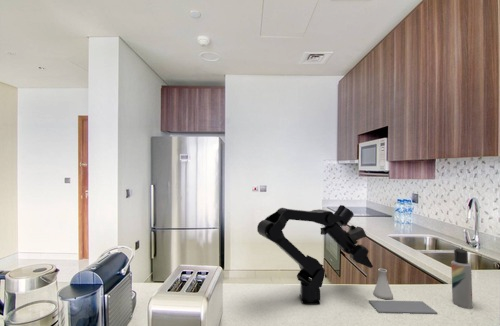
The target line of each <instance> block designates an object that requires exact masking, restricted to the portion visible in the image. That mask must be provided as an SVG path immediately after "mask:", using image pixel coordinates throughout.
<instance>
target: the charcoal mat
mask: <svg viewBox="0 0 500 326" xmlns="http://www.w3.org/2000/svg"><path fill="white" fill-rule="evenodd" d="M368 301H369V302H370V303H369V302H368V303H369V304H370V305H371V306H372V307H373V309H374V310H375V309H376V310H375V311H376V312H377V313H378V314H403V313H410V314H411V315H414V314H416V315H420V314H421V315H438V312H437V311H436V310H434V309H433V308H432V307H431V306H429V305H428V304H427V303H425V302H424V301H423V300H422V301H421V300H420V301H419V300H379V299H378V300H374V299H373V300H372V299H371V300H368ZM410 314H409V315H410Z"/></svg>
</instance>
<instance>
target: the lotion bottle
mask: <svg viewBox="0 0 500 326" xmlns="http://www.w3.org/2000/svg"><path fill="white" fill-rule="evenodd" d="M453 256H454V257H453V260H452V261H450V262H451V263H450V264H451V293H452V294H451V295H452V296H451V297H452V303H453V304H454V305H455V306H458V307H461V308H464V309H472V308H473V280H472V279H473V278H472V276H473V275H472V273H473V272H472V265H471V263H469V259H468V256H469V255H468V250H465V249H462V248H455V249H453Z"/></svg>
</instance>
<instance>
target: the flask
mask: <svg viewBox="0 0 500 326" xmlns="http://www.w3.org/2000/svg"><path fill="white" fill-rule="evenodd" d="M377 271H378V277H377V278H378V279H377V282H376V285H375V287H374V289H373V292H372V294H373V295H374V296H375V297H376V298H378V299H382V298H383V299H384V300H393V299H394V295H393V292H392V290H391V287H390V284H389V281H388V277H387V272H388V270H387V269H385V268H378V270H377Z"/></svg>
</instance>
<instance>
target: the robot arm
mask: <svg viewBox="0 0 500 326" xmlns="http://www.w3.org/2000/svg"><path fill="white" fill-rule="evenodd" d="M354 215H355V214H354V213H353V211H352V210H351V209H349V208H348V207H346V206H345V205H342V204H340V205H339V206H338V207H337V209H336V211H335V212H334V213H333V211H331V210H324V209H321V208H320V209H319V208H318V209H312V210H302V209H301V210H300V209H292V208H285V207H280V208H278V209H277V210H276V211H275V212H274V213H272V214H270V215H268V216H266V218H265V219H262V220H260V222H259V223H258V225H257V228H256V229H257V230H256V231H257V233H258V234H259V235H260V236H262V237H263V238H266V239H267V240H269V241H270V242H272V243H274V244H276V246H277V247H279V248H280V249H281V251H283V252H284V253H285V254H286V255H288V256H289V258H291V259H292V260H293V261H294V262H295V263H296V264H297V265H298V267H299V269H300V270H299V271H298V273H297V275H296V277H297V281H300V294H299V299H300V301H301V303H302V305H321V302H320V301H321V289H320V288H321V287H322V285H323V282H324V278H325V275H326V273H325V272H326V270H325V268H324V264H323V263H322V264H321V263H320V261H319V260H318V259H316V258H315V257H313V256H310V255H309V254H306V255H305V254H304V253H303V252H302V251H301V250H300V249H298V248H297V247H296V245H294V244H293V243H292V242H291V241H290V240H289V239H288V238H287V237H285V234H284V232H283V230H284V229H285V227H286V225H287V223H288V221H291V220H292V221H303V222H312V223H316V224H319V225H322V226H324V227H319V228H320V236H322V235H325V236H326V235H328V236H330V238H331V239H332V240H333V241H334V242H335V243H336V244H337V247H338V248H339V249H340V250H341V251H343V252H344V253H346V254H348V255H349V257H350V258H351V259H352V260H353V261H354V262H355V263H357V264H360V265H363V266H364V267H368V268H370V269H373V267H374V265H373V263H372V262H371V260H370V258H369V257H368V253H369V249H367V247H365V246H364V245H363V244H358V240H361V239H363V238H366V237H367V233H366V231H365V230H364V228H363V227H361V226H356V225H355V226H354V225H353V224H351V225H350V226H349V228H348V229H349V230H348V231H347V230H345V229H343V227H346V226H347V225H348V223H349V222H350V221H351V219H353V217H354ZM356 244H357V245H356Z"/></svg>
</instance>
